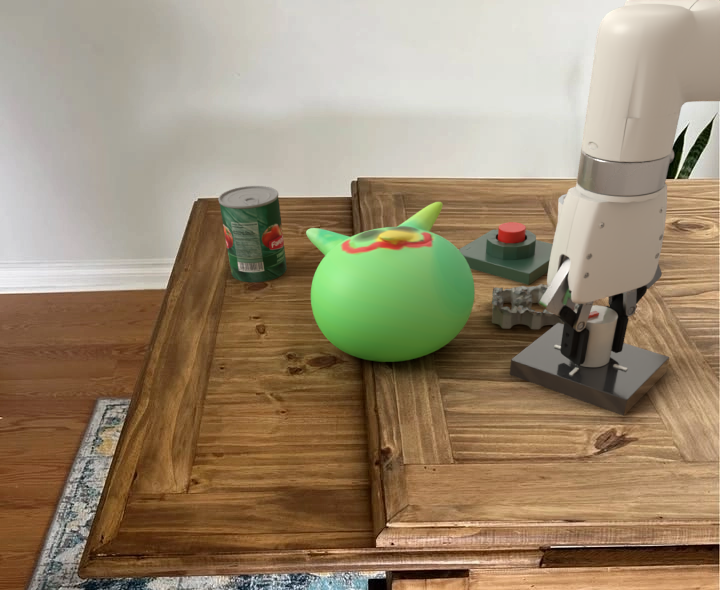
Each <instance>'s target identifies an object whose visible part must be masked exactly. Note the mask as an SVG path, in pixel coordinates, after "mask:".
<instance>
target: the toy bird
mask: <svg viewBox="0 0 720 590" xmlns="http://www.w3.org/2000/svg"><path fill="white" fill-rule="evenodd" d="M443 205H444V203H443V202H441V201H435V202H432V203H430V204H428V205H427V206H425V207H424V208H422V209H420V210H419V211H417V212H416V213H414V214H413V215H412V216H410V217H409V218H408V219H406V220H405V221H403V222H402V223H400V224H398V225H397V226H387V227H385V226H384V227H380V228H374V229H369V230H366V231H362V232H360V233H357V234H354V235H351V236H349V235H345V234H342V233H338V232H335V231H332V230H327V229H324V228H319V227H310V228H308V229H307V230H306V232H305V234H306V236H307V239H308V240H309V241H310V242H311V243H312V244H313V246H315V247H316V248H317V249H318V250H319V251H320V252H321V254H322V255H324V257H323V258H322V259H321V260H320V263H319V264H318V266H317V268H316V270H315V272H314V275H313V277H312V282H311V286H310V287H311V288H310V304H311V310H312V314H313V318H314V320H315V322H316V325H317V326H318V328H319V330H320V332H321V333H322V334H323V336H324V337H325V338H326V340H328V341H329V342H330V343H331V345H333V346H334V347H335V348H338V350H340V351H342V352H344V353H346V354H347V355H350V356H352V357H355V358H357V359H362V360H365V361H371V362H372V361H373V362H378V363H379V362H380V363H395V362H405V361H411V360H413V359H414V360H415V359H418V358H421V357H424V356H427V355H430V354H432V353H435V352H436V351H438V350H440V349H442V348H444V347H445V346H446V345H448V344H450V343H451V342H452V341H453V340H454V339H455V338H456V337H457V336H458V335H459V334H460V333H461V331H463V329H464V327H465V326H466V324H467V322H469V321H468V320H469V319H470V317H471V313H472V311H473V308H474V304H475V294H476V293H475V292H476V291H475V289H476V288H475V281H474V276H473V272H472V269H471V268H470V267H469V265H468V263H467V261H466V259H465V257H464V256H463V255H462V253H461V252H460V251H459V250H458V249H459V248H457V246H455V244H453V243H452V242H451V241H449V240H448V239H447V238H445V237H443V236H441V235H439V234H437V233H434V232H432V231H431V230H432V228H433V226H434V225H435V223H436V221H437V219H438V218H439V216H440V214H441V212H442V209H443Z"/></svg>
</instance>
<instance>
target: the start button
mask: <svg viewBox="0 0 720 590" xmlns="http://www.w3.org/2000/svg"><path fill="white" fill-rule="evenodd" d="M497 230H498V241H500V242H504V243H519V242H523V241H524V240H525V233H526V230H527V227H526V225H525V224H523V223H521V222H515V221H512V222H511V221H507V222H504V223H501V224H499V225H498V229H497Z"/></svg>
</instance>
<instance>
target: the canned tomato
mask: <svg viewBox="0 0 720 590" xmlns="http://www.w3.org/2000/svg"><path fill="white" fill-rule="evenodd" d="M217 199H218V203H219V208H220V215H221V221H222V227H223V232H224V238H225V244H226V250H227V255H228V262H229V267H230V272H231V273H230V274H231V276H232V278H233V279H235V280H237V281H240V282H245V283H264V282H269V281H272V280H275V279H278V278H280V277H281V276H283V275H284V274H285V273H286V271H287V270H288V269H287V268H288V267H287V257H286V250H285V240H284V233H283V223H282V216H281V209H280V208H281V206H280V200H279V199H280V198H279V191H278V190H276V189H275V188H273V187H270V186H266V185H246V186H240V187H234V188H232V189H229V190H226V191H224V192H223V193H221V194H220V195H219V196H218V198H217Z"/></svg>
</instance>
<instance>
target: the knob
mask: <svg viewBox="0 0 720 590" xmlns="http://www.w3.org/2000/svg"><path fill="white" fill-rule="evenodd" d="M617 319H618V314H617V313H616V312H615V311H614V310H613V309H611V308H608V307H605V305H598V304H597V305H594V304H593V305H592V308H591V311H590V314H589V317H588V320H587V323H586V326H585V328H587V329H588V330H589V338H588V344H587V350H586V356H585V361H584V363H583V364H581V366H584V367H601V366H604V365H606V364H607V363H608V362H609V360H610V356H611V350H612V345H613V340H614V335H615V330H616V325H617Z"/></svg>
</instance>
